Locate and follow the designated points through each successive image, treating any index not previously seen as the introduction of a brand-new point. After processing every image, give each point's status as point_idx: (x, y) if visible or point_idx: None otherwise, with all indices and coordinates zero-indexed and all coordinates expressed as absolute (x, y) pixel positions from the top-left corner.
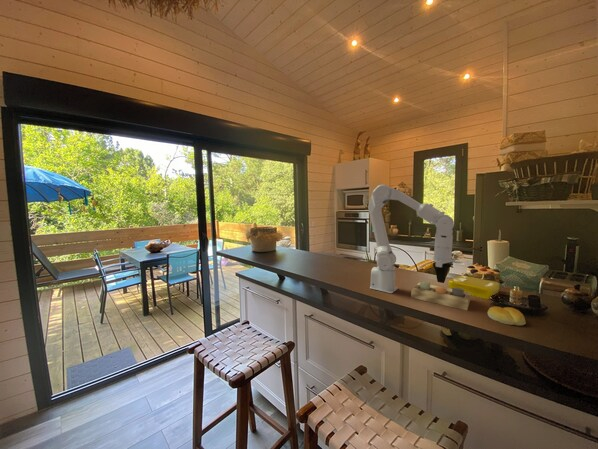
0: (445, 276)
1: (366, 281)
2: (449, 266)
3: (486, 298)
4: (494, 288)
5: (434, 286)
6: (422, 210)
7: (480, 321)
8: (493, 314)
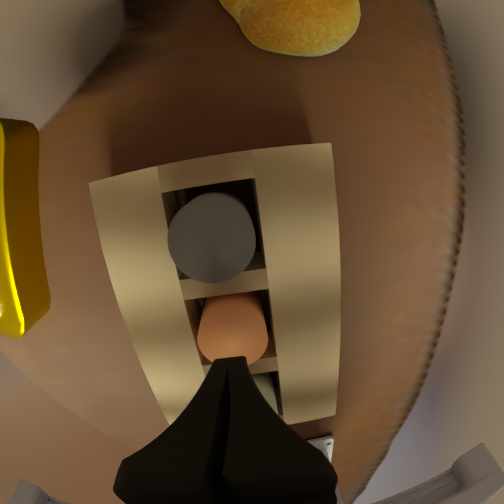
0: (259, 390)
1: None
2: (290, 477)
3: (35, 132)
4: None
5: (166, 377)
6: None
7: (402, 87)
8: (353, 31)
